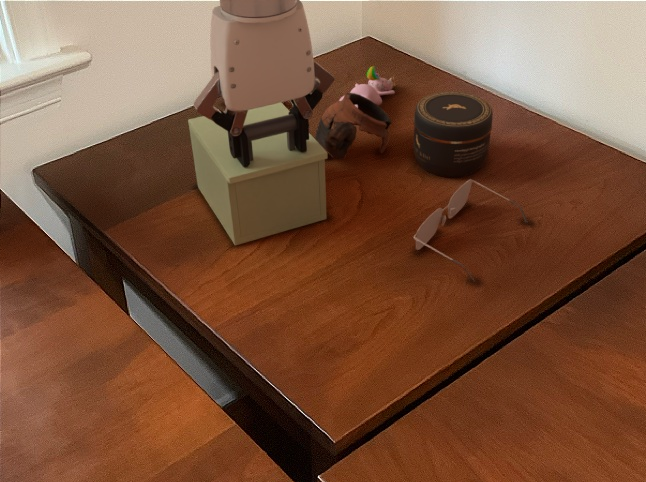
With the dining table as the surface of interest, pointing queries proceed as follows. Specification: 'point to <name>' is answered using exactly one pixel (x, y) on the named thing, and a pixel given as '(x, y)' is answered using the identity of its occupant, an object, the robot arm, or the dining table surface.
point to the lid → (258, 143)
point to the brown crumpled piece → (351, 124)
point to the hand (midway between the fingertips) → (270, 152)
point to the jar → (452, 133)
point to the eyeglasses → (454, 206)
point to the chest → (261, 197)
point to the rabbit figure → (374, 87)
